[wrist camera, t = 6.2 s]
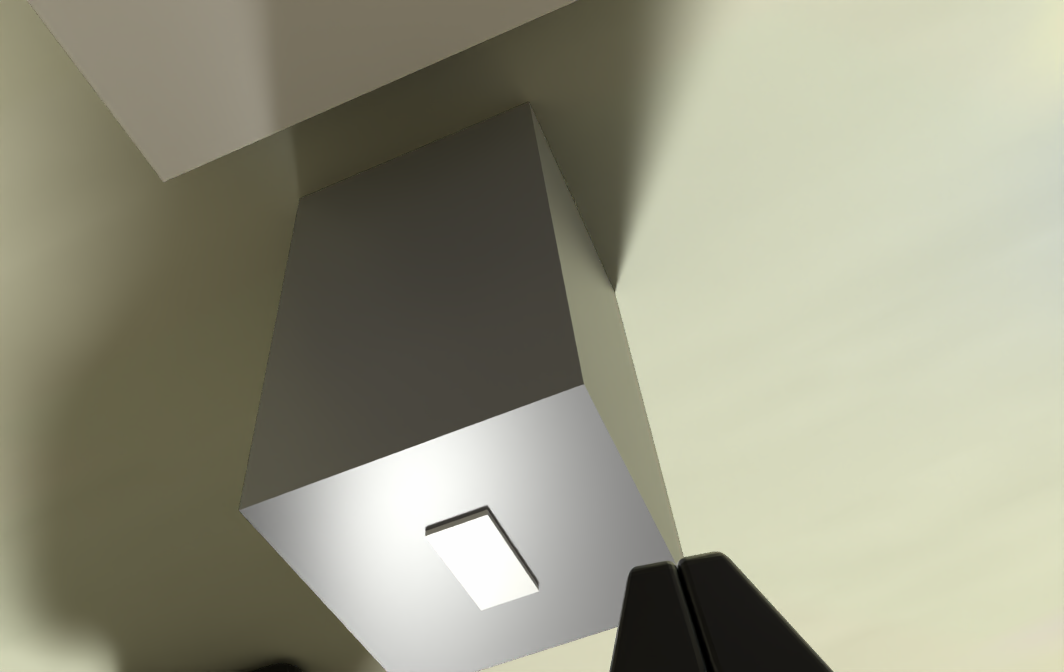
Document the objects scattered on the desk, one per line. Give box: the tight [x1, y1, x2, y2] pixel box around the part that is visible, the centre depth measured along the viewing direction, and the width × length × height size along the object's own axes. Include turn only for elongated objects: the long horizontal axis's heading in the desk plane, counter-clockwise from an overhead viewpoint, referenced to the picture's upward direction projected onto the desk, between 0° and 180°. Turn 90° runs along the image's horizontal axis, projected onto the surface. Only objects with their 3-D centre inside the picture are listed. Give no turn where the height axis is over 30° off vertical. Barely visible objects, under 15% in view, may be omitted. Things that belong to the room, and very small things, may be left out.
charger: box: [239, 102, 684, 672], centre depth 15 cm, size 4×4×7 cm
